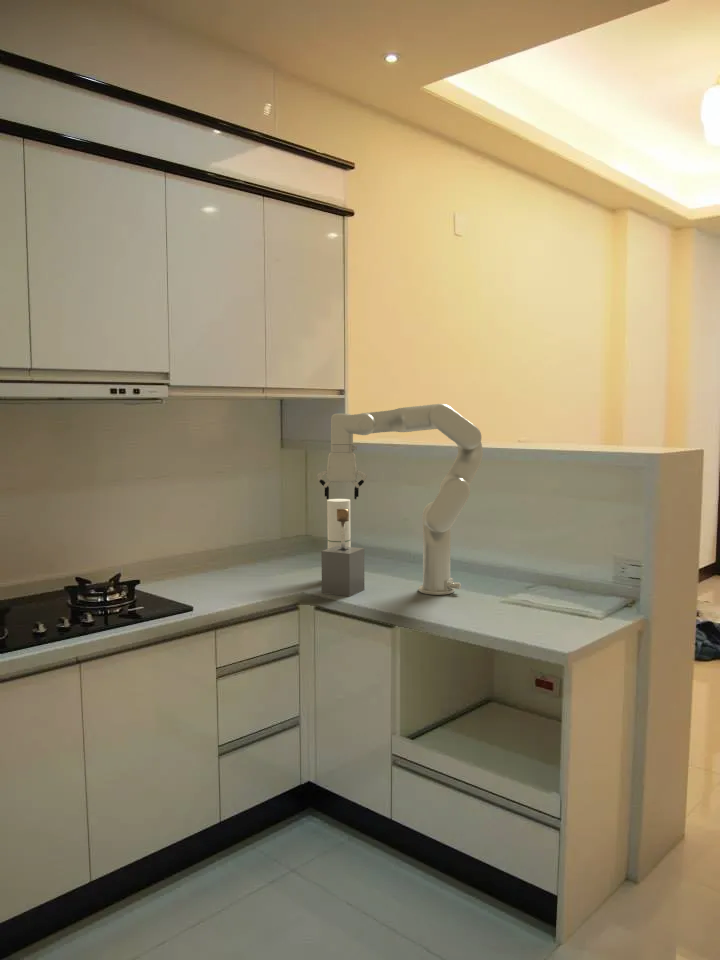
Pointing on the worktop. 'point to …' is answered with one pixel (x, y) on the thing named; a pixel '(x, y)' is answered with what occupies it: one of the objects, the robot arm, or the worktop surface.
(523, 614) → the worktop surface
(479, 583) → the worktop surface
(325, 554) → the grey box
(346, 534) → the container
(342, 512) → the plunger
